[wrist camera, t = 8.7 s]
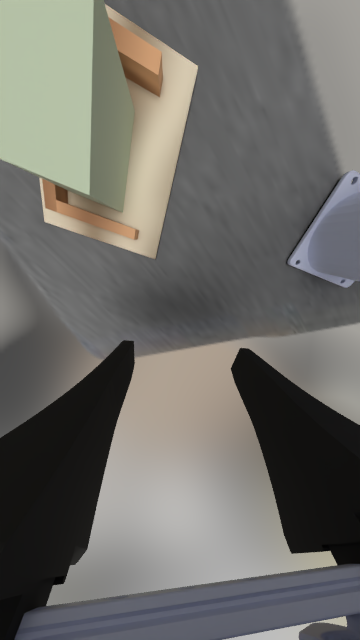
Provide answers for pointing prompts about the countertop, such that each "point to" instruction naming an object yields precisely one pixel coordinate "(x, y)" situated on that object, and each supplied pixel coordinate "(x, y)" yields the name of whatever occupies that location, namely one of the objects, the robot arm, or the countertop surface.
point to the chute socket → (136, 146)
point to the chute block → (65, 97)
